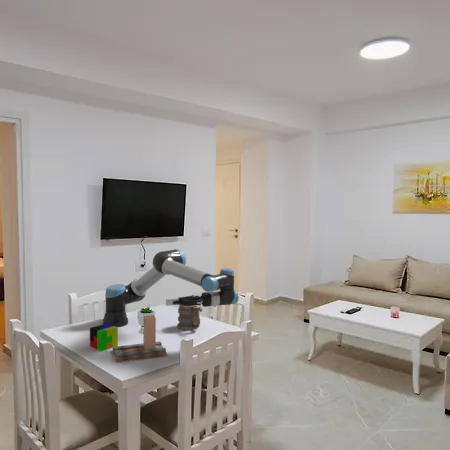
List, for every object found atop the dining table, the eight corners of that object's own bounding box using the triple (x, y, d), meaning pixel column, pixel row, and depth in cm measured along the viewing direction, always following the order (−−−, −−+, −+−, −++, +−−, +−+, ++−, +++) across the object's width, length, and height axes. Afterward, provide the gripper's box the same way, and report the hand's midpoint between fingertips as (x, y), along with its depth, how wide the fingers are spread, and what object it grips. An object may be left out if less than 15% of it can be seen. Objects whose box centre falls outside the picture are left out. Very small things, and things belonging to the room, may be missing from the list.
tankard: (173, 326, 250) (173, 301, 249) (191, 322, 257) (191, 299, 256) (191, 335, 234) (191, 309, 233) (209, 331, 241) (209, 306, 240)
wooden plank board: (159, 345, 217) (159, 340, 217) (166, 355, 203) (166, 350, 202) (112, 350, 209) (112, 345, 208) (116, 362, 194) (116, 357, 194)
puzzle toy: (106, 341, 221) (106, 323, 221) (117, 346, 215) (117, 327, 214) (89, 346, 214) (89, 327, 213) (101, 351, 207) (101, 332, 207)
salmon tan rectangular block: (153, 346, 211) (153, 314, 210) (155, 349, 206) (155, 317, 205) (143, 347, 209) (143, 315, 208) (145, 351, 204) (145, 318, 203)
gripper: (214, 309, 212) (169, 313, 203) (205, 303, 224) (163, 306, 215) (214, 294, 211) (169, 298, 203) (205, 289, 224) (163, 292, 215)
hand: (166, 302), depth 209 cm, fingers closed
